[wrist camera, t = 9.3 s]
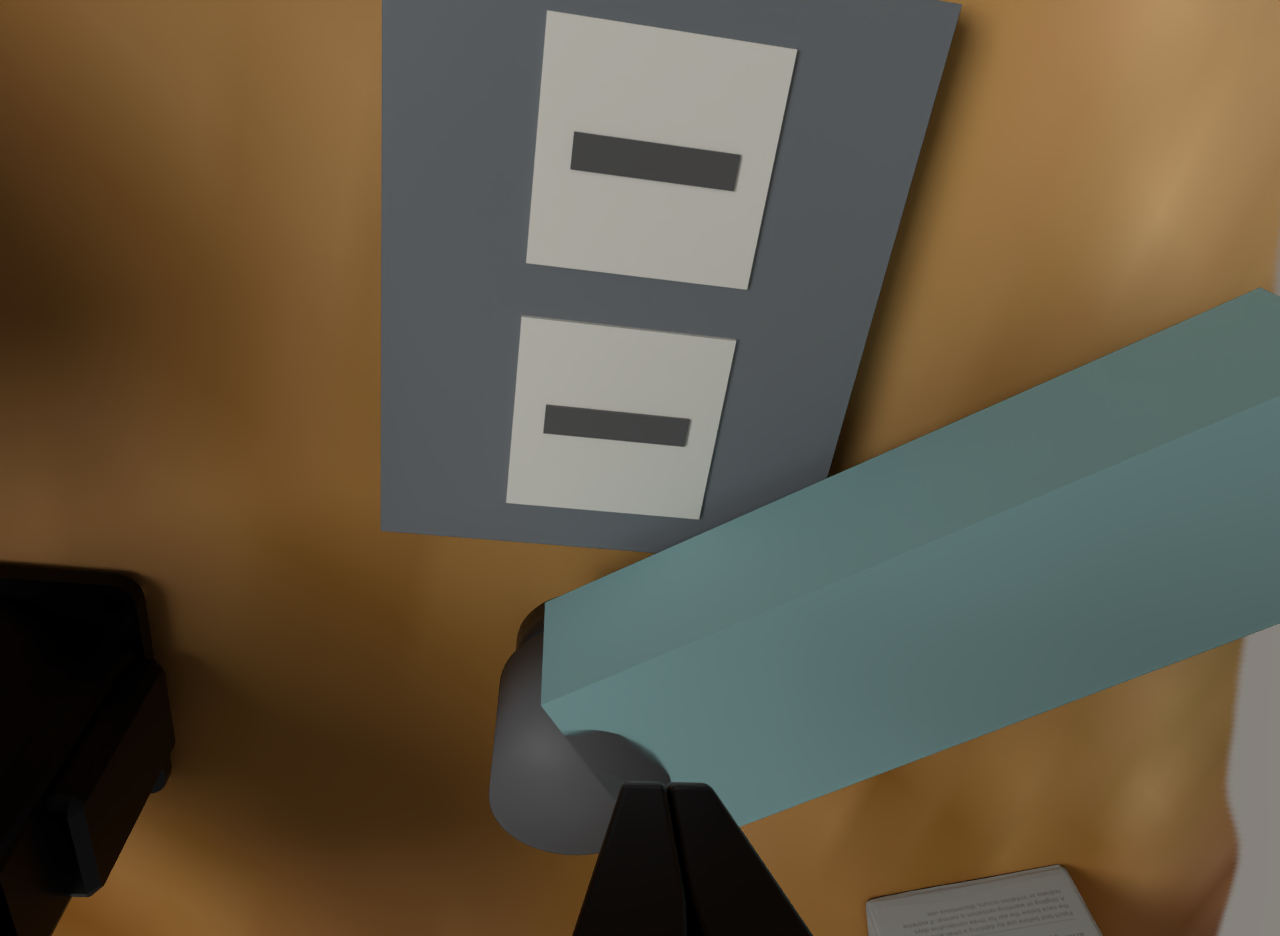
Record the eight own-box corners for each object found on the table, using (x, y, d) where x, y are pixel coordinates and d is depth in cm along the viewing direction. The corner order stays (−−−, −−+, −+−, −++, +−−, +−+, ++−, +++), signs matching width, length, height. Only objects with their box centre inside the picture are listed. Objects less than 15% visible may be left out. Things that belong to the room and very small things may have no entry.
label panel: (389, 504, 19) (379, 535, 18) (394, -91, 14) (379, -94, 13) (792, 538, 20) (803, 569, 19) (940, 1, 15) (965, 5, 14)
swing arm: (452, 643, 19) (433, 750, 17) (1260, 287, 16) (1389, 349, 14) (563, 781, 22) (561, 894, 19) (1286, 491, 19) (1401, 577, 16)
